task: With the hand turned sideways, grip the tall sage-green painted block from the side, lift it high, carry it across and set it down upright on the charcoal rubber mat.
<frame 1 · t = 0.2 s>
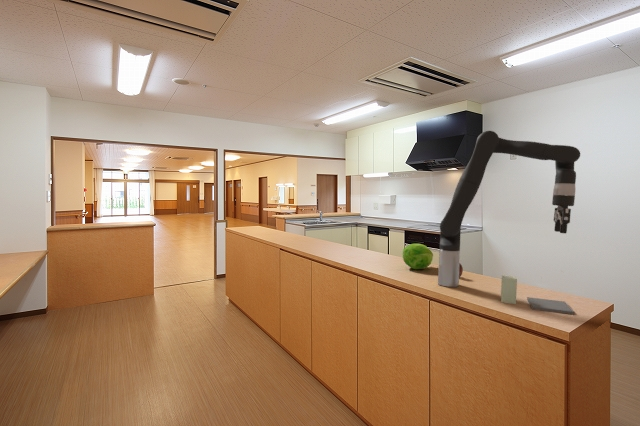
hand: (560, 232, 139), 28 cm above the table, fingers open, 8 cm apart
sage block: (508, 301, 134), on the table
lettuce: (418, 268, 194), on the table
charcoal mat: (548, 306, 128), on the table
tin: (450, 276, 177), on the table
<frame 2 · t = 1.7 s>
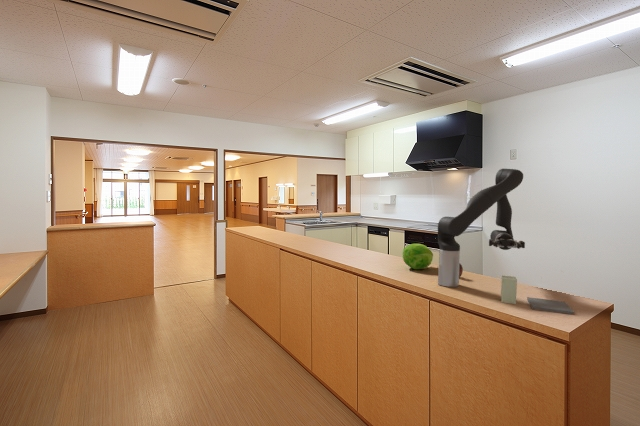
hand: (507, 245, 143), 22 cm above the table, fingers open, 8 cm apart
nothing on the table moved.
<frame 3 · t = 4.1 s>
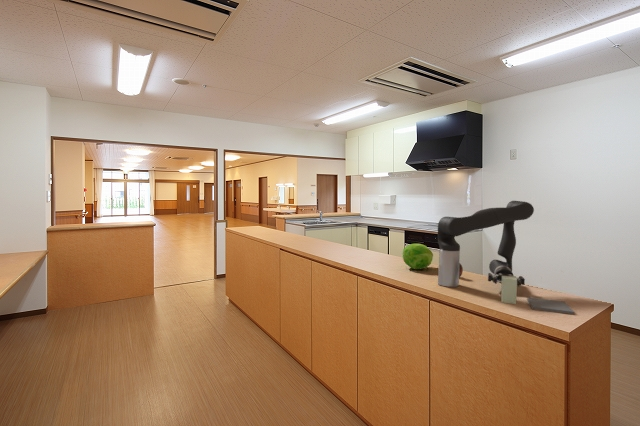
hand: (507, 282, 141), 6 cm above the table, fingers open, 8 cm apart
nothing on the table moved.
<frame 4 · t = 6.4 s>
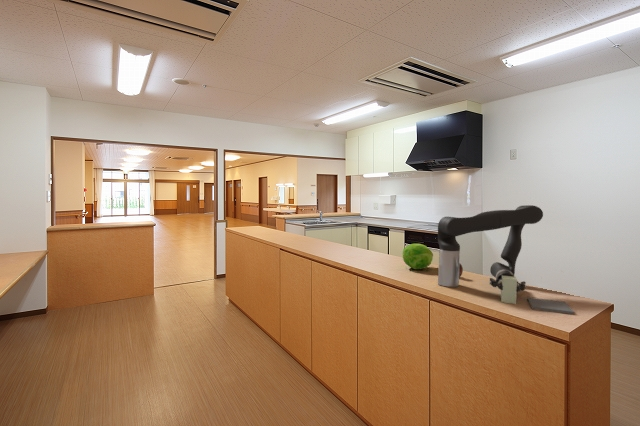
hand: (509, 288, 132), 6 cm above the table, fingers closed on sage block, 5 cm apart
sage block: (508, 301, 134), on the table, touching gripper
everything else where it was.
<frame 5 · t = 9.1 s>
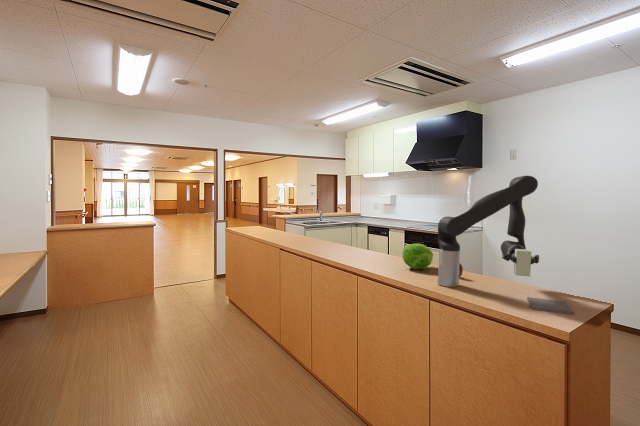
hand: (523, 261, 129), 18 cm above the table, fingers closed on sage block, 5 cm apart
sage block: (521, 274, 132), point 12 cm above the table, touching gripper
everything else where it was.
when the fingers open (8 cm above the table, at t = 12.0 s): sage block stays where it is, resting on charcoal mat.
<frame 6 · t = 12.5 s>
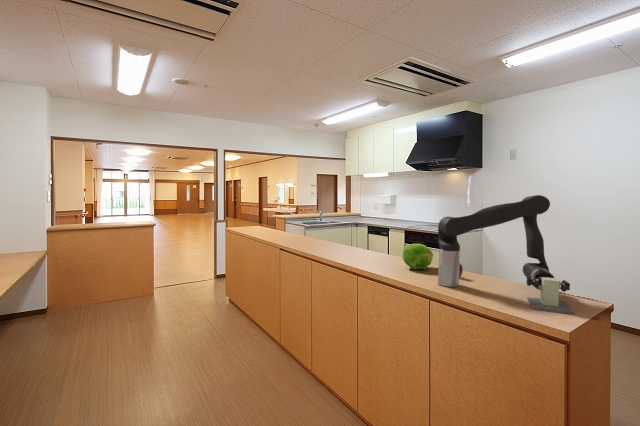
hand: (550, 287, 126), 8 cm above the table, fingers open, 8 cm apart
sage block: (549, 303, 128), point 1 cm above the table, touching charcoal mat
everything else where it was.
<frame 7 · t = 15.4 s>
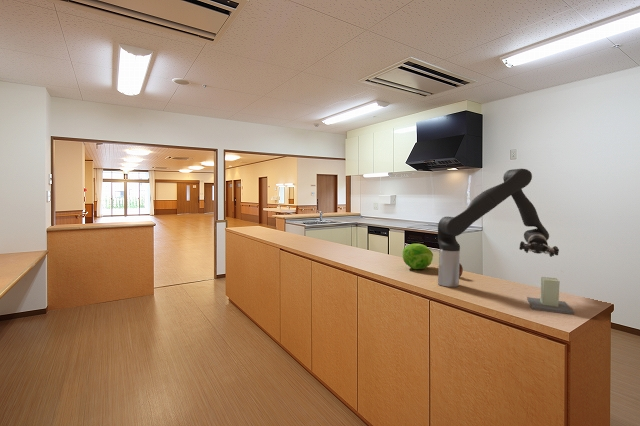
hand: (539, 252, 138), 20 cm above the table, fingers open, 8 cm apart
nothing on the table moved.
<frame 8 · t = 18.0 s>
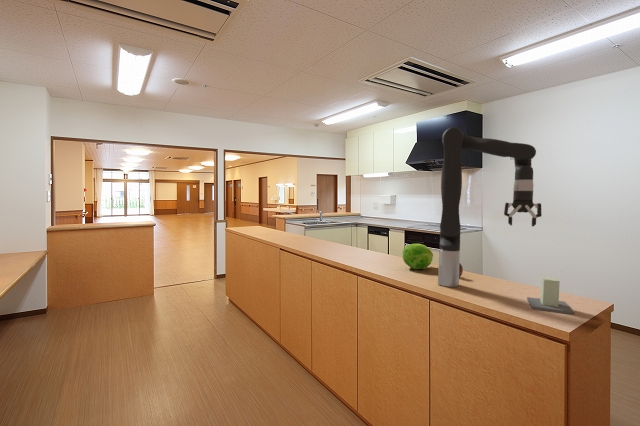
hand: (521, 225, 147), 30 cm above the table, fingers open, 8 cm apart
nothing on the table moved.
at the end: sage block inside the target area on the charcoal mat (0.0 cm from its centre), point 1.0 cm above the charcoal mat's base; sage block tilted 0°; the gripper is holding nothing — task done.
